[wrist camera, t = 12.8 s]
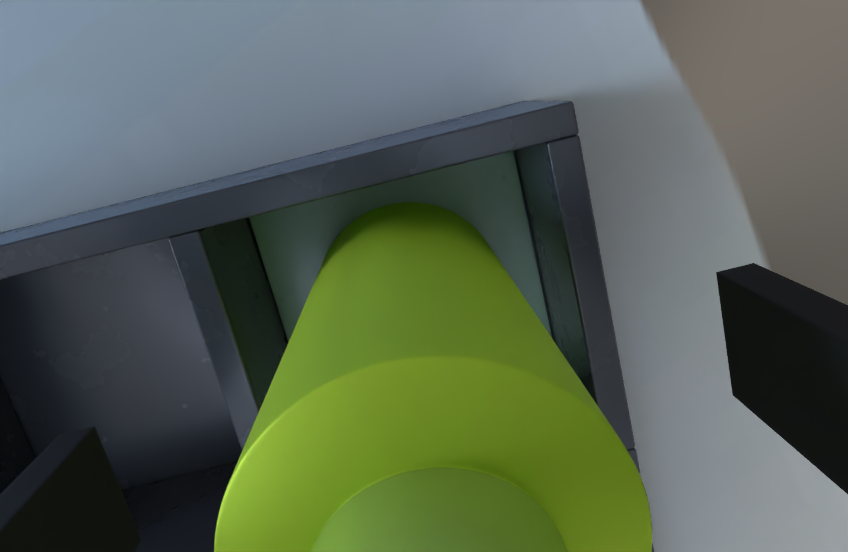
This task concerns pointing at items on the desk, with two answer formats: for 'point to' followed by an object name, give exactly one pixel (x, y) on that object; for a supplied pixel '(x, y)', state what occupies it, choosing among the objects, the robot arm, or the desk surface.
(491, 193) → the rack
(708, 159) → the desk surface
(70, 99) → the desk surface
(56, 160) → the desk surface
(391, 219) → the soap dispenser
